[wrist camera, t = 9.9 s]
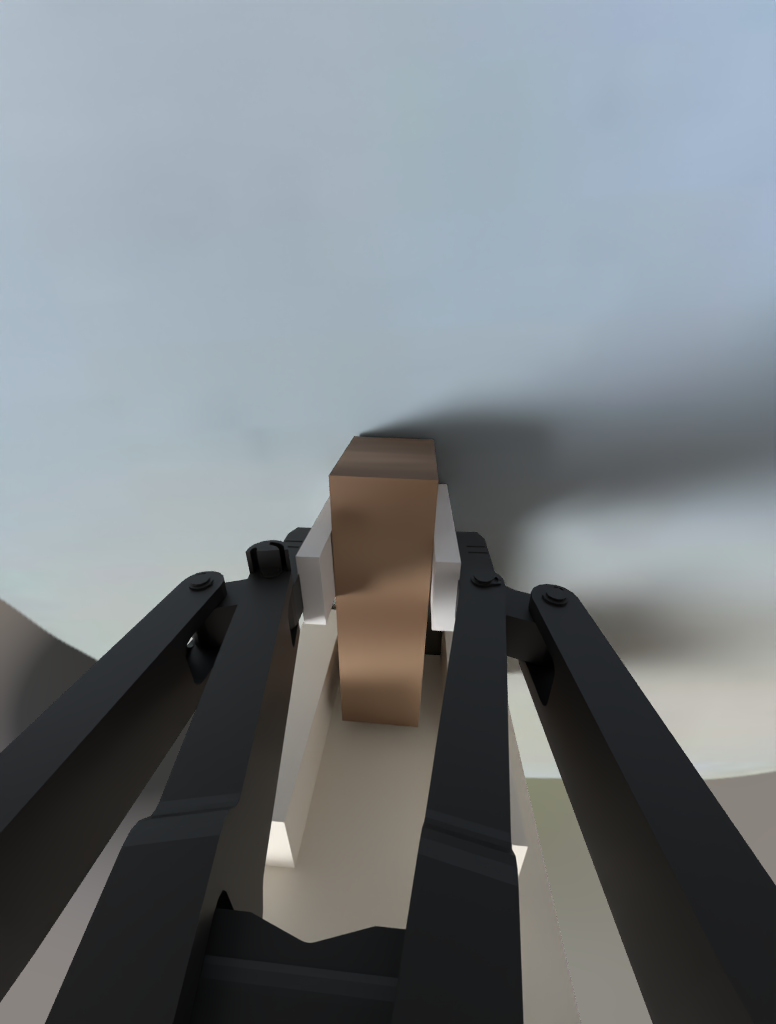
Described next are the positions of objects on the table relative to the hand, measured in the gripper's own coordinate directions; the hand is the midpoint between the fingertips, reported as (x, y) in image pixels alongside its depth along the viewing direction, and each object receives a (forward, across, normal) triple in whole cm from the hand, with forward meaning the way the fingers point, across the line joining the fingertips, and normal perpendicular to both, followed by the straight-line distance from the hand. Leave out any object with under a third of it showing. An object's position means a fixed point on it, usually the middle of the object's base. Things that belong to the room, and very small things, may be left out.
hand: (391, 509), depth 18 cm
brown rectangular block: (0, 0, -2) cm, 3 cm away
